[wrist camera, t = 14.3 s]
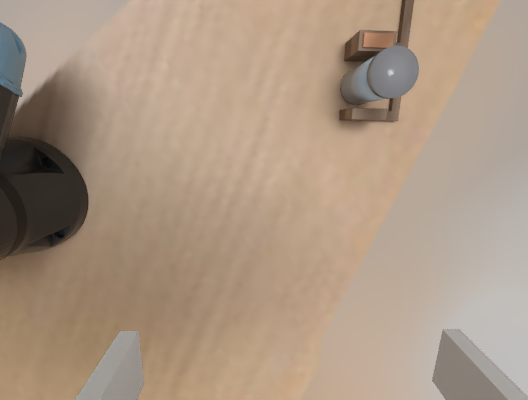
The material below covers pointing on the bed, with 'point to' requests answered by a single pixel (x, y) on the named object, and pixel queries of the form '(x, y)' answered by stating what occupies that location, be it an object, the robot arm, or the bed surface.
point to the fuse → (381, 76)
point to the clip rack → (369, 46)
